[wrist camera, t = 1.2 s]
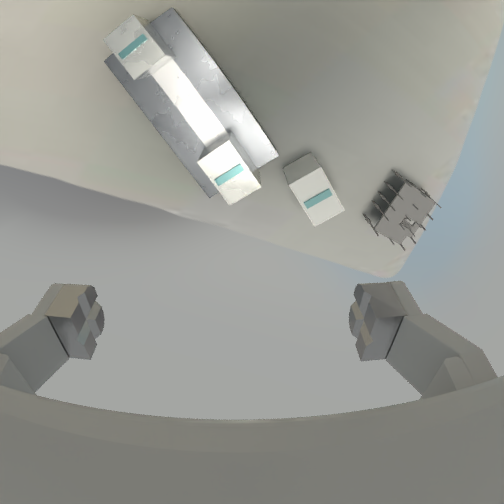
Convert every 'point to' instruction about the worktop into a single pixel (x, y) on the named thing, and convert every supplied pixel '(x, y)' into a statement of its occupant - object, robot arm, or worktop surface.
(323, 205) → the block
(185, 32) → the rail plate
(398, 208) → the building frame
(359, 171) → the worktop surface
